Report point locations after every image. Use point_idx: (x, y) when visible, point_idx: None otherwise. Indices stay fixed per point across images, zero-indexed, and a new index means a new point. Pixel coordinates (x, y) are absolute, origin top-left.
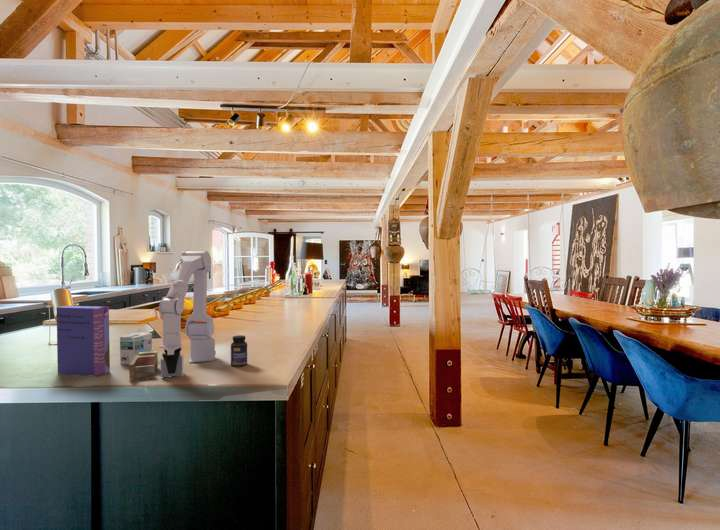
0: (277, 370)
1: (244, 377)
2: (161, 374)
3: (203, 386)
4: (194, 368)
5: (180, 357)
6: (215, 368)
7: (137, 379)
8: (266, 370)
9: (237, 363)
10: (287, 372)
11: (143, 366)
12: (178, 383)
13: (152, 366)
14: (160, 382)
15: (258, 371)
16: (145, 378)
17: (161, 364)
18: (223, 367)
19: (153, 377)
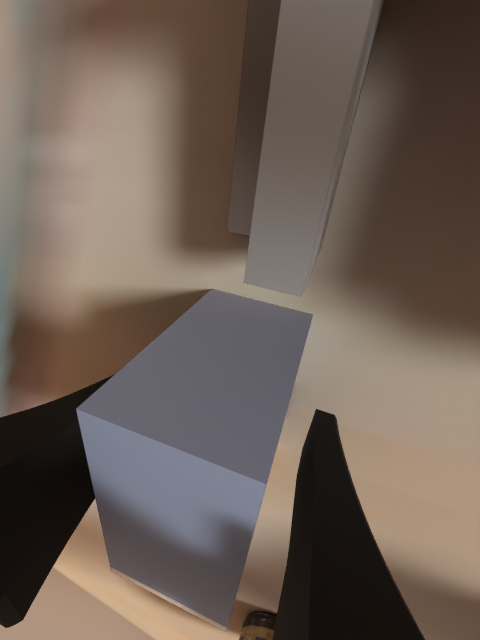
0: (140, 611)
1: (90, 536)
2: (194, 307)
3: (5, 413)
4: (372, 533)
5: (123, 566)
6: (283, 572)
7: (248, 28)
8: (151, 604)
9: (242, 634)
10: (111, 604)
11: (287, 85)
12: (59, 352)
13: (251, 258)
14: (100, 267)
15: (148, 591)
16: (237, 143)
17: (133, 367)
18: (279, 593)
19: (236, 231)
